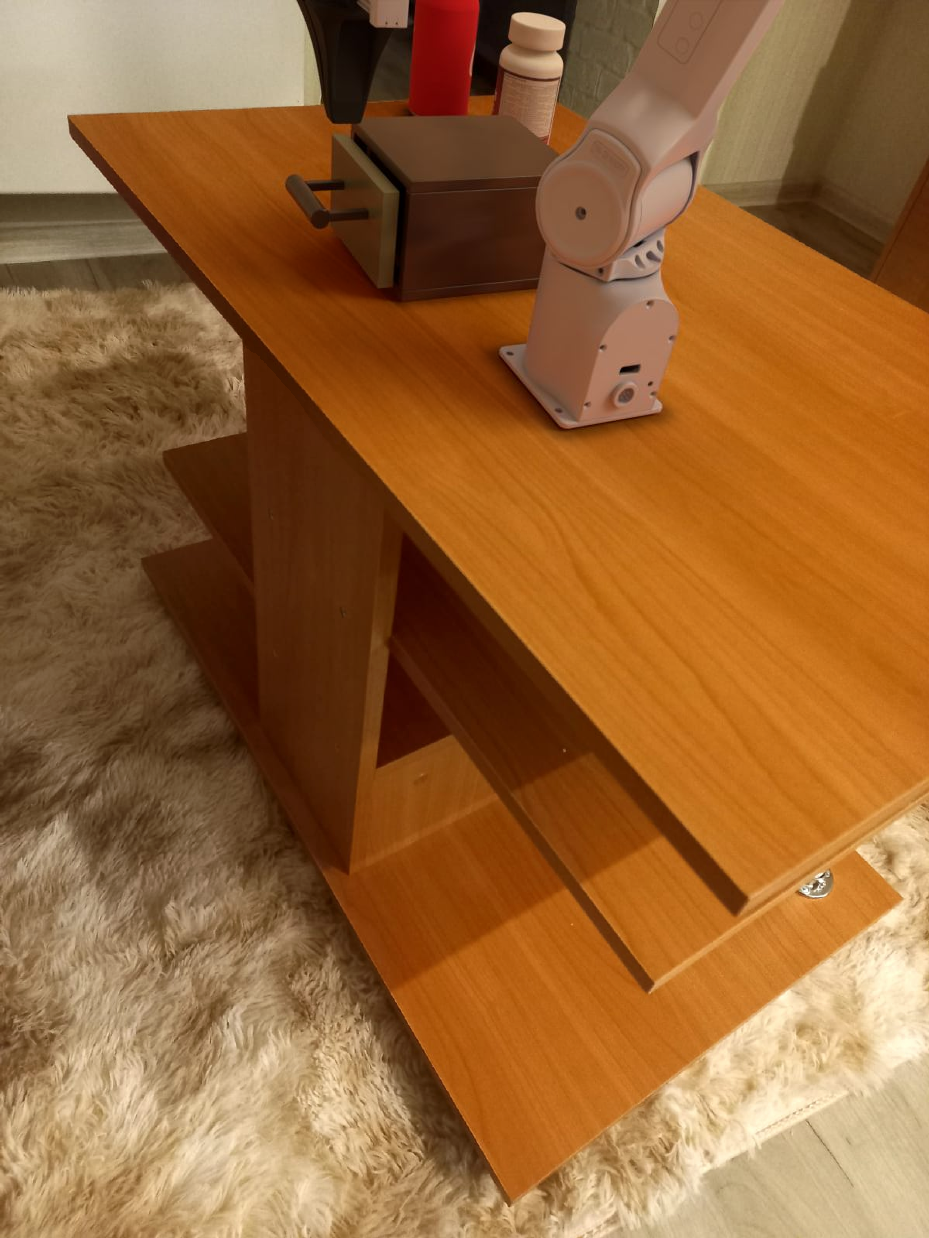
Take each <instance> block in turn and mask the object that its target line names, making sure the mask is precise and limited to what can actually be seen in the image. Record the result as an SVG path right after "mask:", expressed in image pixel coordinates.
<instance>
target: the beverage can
mask: <svg viewBox="0 0 929 1238" xmlns="http://www.w3.org/2000/svg"><path fill="white" fill-rule="evenodd" d="M479 14H480V1H479V0H415V5H414V20H413V34H412V46H411V47H412V49H411V62H410V75H409V76H410V77H409V91H408V105H407V106H408V110H409V111H410V113H411V114H412V116H413V117H415V116H468V110H469V101H470V94H471V93H470V92H471V84H472V76H473V75H472V74H473V66H474V58H475V50H476V42H477V32H478V24H479V16H480V15H479Z"/></svg>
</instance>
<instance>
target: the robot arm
mask: <svg viewBox="0 0 929 1238" xmlns="http://www.w3.org/2000/svg"><path fill="white" fill-rule="evenodd" d="M786 1H787V0H665V2H664V4H663V6H662V8H661V10H660V12H659V14H658V16H657V18H656V20H655V21H654V24H653V26H652V27H651V29H650V32H649V33H648V36H647V37H646V39H645V41H644V43H643V45H642V47H641V48H640V51H639V53H638V55H637V57H636V58H635V61H634V63H633V65H632V66H631V69H630V70H629V72H627V74H626V76H624V78H623V79H622V80H621V81H620V82H619V83H618V85H617V86H615V88H614V89H613V90H612V91H611V92H610V94H609V95H608V96H606V98H605V99H604V100H603V101H602V102H601V104H600V105H599V106H598V107H597V108H596V109H595V110H594V112H592V114H591V115H590V117H589V118H588V120H587V121H586V123H585V126H584V128H583V130H582V132H581V133H580V135H579V137H578V138H577V140H576V141H575V142H574V144H573V145H572V146H570V148H568V149H567V150H566V151H564V152H563V153H561V154H559V155H560V156H559V157H557V158H556V159H555V160H554V161H553V162H552V163H551V164H550V165H549V166H548V168H547V169H546V170H545V172H544V173H543V176H542V178H541V180H540V182H539V185H538V189H537V194H536V207H535V210H536V218H537V222H538V226H539V230H540V232H541V235H542V237H543V239H544V241H545V242H546V248H545V253H544V258H543V263H542V268H541V273H540V278H539V283H538V288H536V294H535V298H534V303H533V309H532V313H531V319H530V323H529V328H528V333H527V338H526V343H519V344H511V345H510V344H509V345H504V346H501V347H500V348H499V350H498V355H499V356H500V358H501V359H502V360H503V361H504V362H505V363H506V365H507V366H508V367H509V368H510V370H511V371H512V372H513V373H514V374H515V375H516V377H517V378H518V379H519V380H520V381H521V383H522V384H523V385H524V386H525V387H526V389H528V391H529V392H530V393H531V394H532V396H533V397H534V398H535V399H536V400H537V402H539V404H540V405H541V407H543V409H544V410H545V411H546V412H547V413H548V414H549V416H550V417H551V419H553V420H554V422H555V423H556V424H557V425H558V426H559V428H562V429H574V428H580V427H585V426H590V425H596V424H602V423H607V422H613V421H619V420H625V419H630V418H631V419H632V418H637V417H642V416H648V415H653V414H659V413H661V412H662V410H663V404H662V402H661V401H660V400H659V399H658V398H657V396H658V393H659V390H660V388H661V385H662V382H663V378H664V376H665V373H666V370H667V367H668V364H669V361H670V358H671V355H672V352H673V349H674V346H675V343H676V341H677V337H678V333H679V328H680V327H679V326H680V319H679V315H678V310H677V308H676V307H675V305H674V303H673V302H672V301H671V299H670V298H669V296H668V294H667V292H666V291H665V288H664V283H663V281H662V264H663V260H664V257H665V249H666V248H665V247H666V245H665V234H666V231H667V226H669V225H671V224H673V223H674V222H676V221H677V220H678V219H680V218H681V217H682V216H683V215H684V214H685V213H686V211H687V210H688V209H689V207H690V206H691V204H692V202H693V200H694V197H695V196H696V192H697V189H698V185H699V179H700V170H701V165H702V162H703V159H704V156H705V154H706V152H707V150H708V149H709V147H710V145H711V144H712V142H713V140H714V139H715V138H716V136H717V133H718V113H719V110H720V108H721V106H722V104H723V103H724V101H725V100H726V98H727V97H728V95H729V94H730V92H731V90H732V89H733V87H734V85H735V83H736V82H737V80H738V79H739V77H740V75H741V74H742V72H744V71H743V70H744V69H745V68H746V66H747V64H748V63H749V61H750V59H751V58H752V56H753V54H754V53H755V51H756V49H757V48H758V46H759V45H760V43H761V42H762V40H763V38H764V37H765V35H766V33H767V32H768V30H769V29H770V27H771V25H772V24H773V22H774V20H775V19H776V17H777V16H778V14H779V12H780V11H781V9H782V8H783V6H784V4H785V3H786ZM296 3H297V5H298V7H299V10H300V12H301V14H302V17H303V19H304V22H305V25H306V28H307V31H308V34H309V39H310V41H311V45H312V49H313V53H314V58H315V63H316V68H317V75H318V79H319V80H318V81H319V86H320V92H321V97H322V102H323V107H324V111H325V115H326V118H327V119H328V120H329V121H330V122H331V124H334V125H351V124H360V123H361V121H362V118H363V117H364V115H365V111H366V107H367V104H368V100H369V98H370V97H369V96H370V93H371V88H372V85H373V81H374V78H375V74H376V71H377V68H378V66H379V62H380V59H381V57H382V55H383V52H384V51H385V49H386V46H387V44H388V42H389V41H390V40H391V39H390V38H391V37H392V35H393V34H394V32H395V31H396V29H407V28H408V21H409V20H408V17H409V4H410V0H296Z"/></svg>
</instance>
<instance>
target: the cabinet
mask: <svg viewBox="0 0 929 1238" xmlns="http://www.w3.org/2000/svg"><path fill="white" fill-rule="evenodd" d="M350 138H351V139H352V140H353V141H354V142H355V143H356V144H357V145H358V147H359V148H360V149H361V150H362V151H363V152H364V153H365V154H366V148H367V146H368V147H369V149H370V150H371V151H372V152H373V153H374V154H375V155H376V156H377V157H378V158H379V159H380V160H381V162H382V163H383V164H384V165H385V166H386V167H387V168H388V169H389V170H390V171H391V172H392V173H393V175H394V176H395V177H396V178H397V179H398V180H399V181H400V182H401V183H402V184H403V185H404V187H405V188H406V197H405V210H404V223H403V235H402V248H401V261H400V269H399V268H398V266H397V265H396V264H395V263H394V275H393V287H389V289H391V290H392V291H393V293H394V294H395V296H396V297H397V298H398V299H399V301H400V302H401V303H403V302H413V301H423V300H432V299H442V298H451V297H461V296H462V297H463V296H470V295H471V296H472V295H480V294H481V295H482V294H491V293H500V292H501V293H502V292H511V291H519V290H528V289H529V290H530V289H531V290H532V289H537V288H538V283H539V278H540V273H541V268H542V263H543V258H544V253H545V248H546V242H545V241H544V239H543V237H542V235H541V232H540V230H539V226H538V222H537V218H536V210H535V207H536V194H537V189H538V185H539V182H540V180H541V178H542V176H543V173H544V172H545V170H546V169H547V168H548V166H549V165H550V164H551V163H552V162H553V161H554V160H555V159H556V158H557V157H559V156H560V155H561V154H559V152H557V151H556V150H555V149H554V148H552V147H551V146H550V145H547V144H546V143H545V142H544V141H542V140H541V139H540V138H539V137H537V136H536V135H535V134H534V133H532V132H531V131H530V130H529V129H528V128H526V127H525V126H524V125H523V124H521V123H520V122H519V121H518V120H516V119H515V118H514V117H513V116H512V115H492V114H488V115H487V114H483V115H482V114H481V115H479V114H477V115H467V116H369V117H368V116H367V117H366V116H365V117H364V116H363V118H362V121H361V123H360V124H350Z"/></svg>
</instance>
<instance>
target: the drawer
mask: <svg viewBox="0 0 929 1238" xmlns="http://www.w3.org/2000/svg"><path fill="white" fill-rule="evenodd" d="M330 154H331V156H330V157H331V159H330V160H331V161H330V178H329V179H312V180H309V179H307V180H305V179H303V177H302V176H301V175H300V174H296V173H294V174H290V175H288V176H287V177H286V179H285V182H284V187H285V190H286V191H287V193H288V194H289V195H290V197H291V198H292V200H293V201H294V203H296V205H297V206H298V208H299V209H300V210H301V212H302V213H303V214H304V216H305V217H306V219H307V220H308V222H309V223H310V224H311V225H312V227H313V228H315V229H317V230H323V229H325V228H327V227H328V226H330V228H331V229H332V230H333V231H334V233H335V234H336V235H337V237H338V238H339V239H340V241H341V242H342V244H343V245H344V246H345V247H346V249H347V251H349V253H350V254H351V255H352V257H353V258H354V259H355V261H356V262H357V264H358V265H359V266H360V267H361V269H362V270H363V271H364V272H365V274H366V275H367V276H368V278H369V279H370V280H371V282H372V283H373V284H374V286H375V287H376V288H377V289H387V288H390V287H393V275H394V263H395V264H396V265H397V266H398V268H399V269H400V261H401V248H402V235H403V223H404V210H405V197H406V188H405V187H404V185H403V184H402V183H401V182H400V181H399V180H398V179H397V178H396V177H395V176H394V175H393V173H392V172H391V171H390V170H389V169H388V168H387V167H386V166H385V165H384V164H383V163H382V162H381V160H380V159H379V158H378V157H377V156H376V155H375V154H374V153H373V152H372V151H371V150H370V149H369V147H368V146H367V148H366V154H365V153H364V152H363V151H362V150H361V149H360V148H359V147H358V145H357V144H356V143H355V142H354V141H353V140H352V139H351V136H350V135H349V134H348V133H331V153H330ZM327 191H329V192H330V209H327V208H326V207H325V206H324V205H323V204H322V202H321V201H320V199H319V198H318V197H317V196H316V195H315V193H314V192H327Z"/></svg>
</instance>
